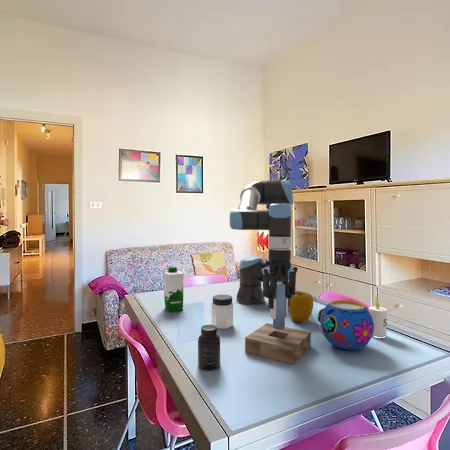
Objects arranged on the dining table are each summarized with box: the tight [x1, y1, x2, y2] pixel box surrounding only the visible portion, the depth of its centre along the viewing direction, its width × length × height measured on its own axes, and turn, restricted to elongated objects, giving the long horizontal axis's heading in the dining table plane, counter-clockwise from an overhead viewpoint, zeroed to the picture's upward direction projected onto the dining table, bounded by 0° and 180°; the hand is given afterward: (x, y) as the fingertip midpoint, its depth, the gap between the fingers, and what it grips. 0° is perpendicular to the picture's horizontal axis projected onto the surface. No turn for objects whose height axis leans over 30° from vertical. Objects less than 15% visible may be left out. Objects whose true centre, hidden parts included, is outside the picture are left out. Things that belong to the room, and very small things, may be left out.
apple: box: [288, 290, 314, 323], centre depth 140 cm, size 11×11×13 cm
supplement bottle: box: [197, 324, 221, 371], centre depth 97 cm, size 7×7×12 cm
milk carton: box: [163, 266, 184, 313], centre depth 155 cm, size 9×9×20 cm
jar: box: [211, 294, 234, 330], centre depth 133 cm, size 9×8×12 cm
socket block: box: [244, 322, 312, 366], centre depth 110 cm, size 17×17×5 cm
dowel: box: [272, 282, 286, 329], centre depth 109 cm, size 4×4×15 cm
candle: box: [368, 296, 388, 337], centre depth 122 cm, size 6×6×15 cm
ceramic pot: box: [317, 299, 374, 351], centre depth 112 cm, size 18×18×15 cm
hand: (278, 316), depth 110 cm, fingers closed on dowel, 4 cm apart
